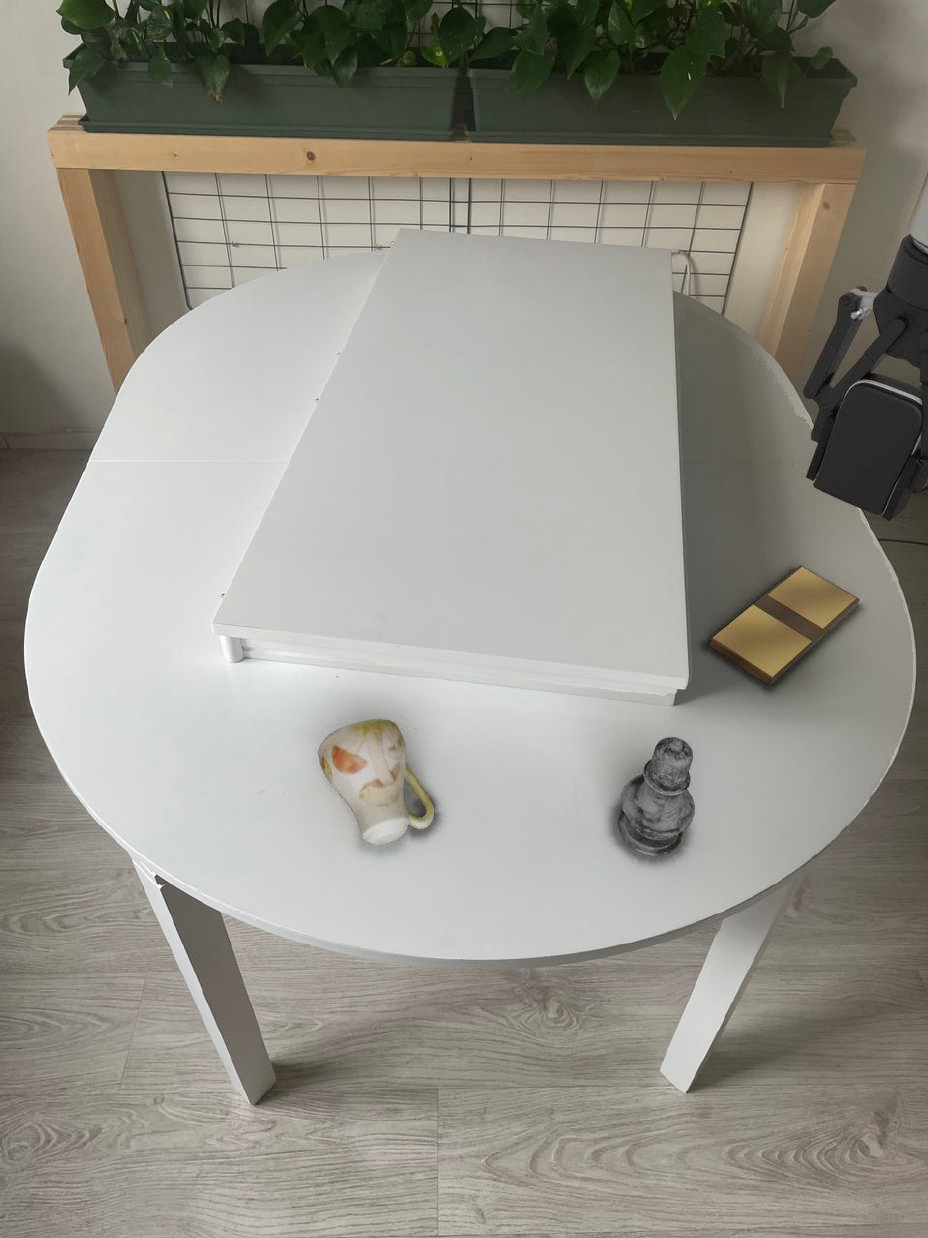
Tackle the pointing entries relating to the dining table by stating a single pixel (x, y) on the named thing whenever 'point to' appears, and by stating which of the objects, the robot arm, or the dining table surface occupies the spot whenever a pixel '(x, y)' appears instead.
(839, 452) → the battery charger
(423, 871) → the dining table surface
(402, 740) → the mug
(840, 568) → the dining table surface
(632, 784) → the grey chess piece
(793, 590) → the strip board
